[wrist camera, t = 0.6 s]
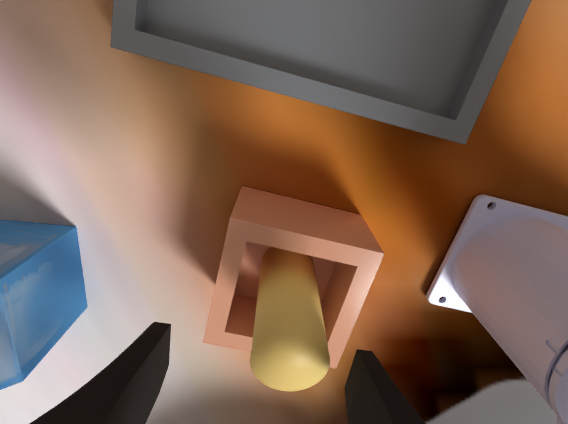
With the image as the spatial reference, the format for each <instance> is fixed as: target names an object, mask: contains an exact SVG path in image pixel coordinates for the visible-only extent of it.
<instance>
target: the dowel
mask: <svg viewBox="0 0 568 424" xmlns="http://www.w3.org/2000/svg"><path fill="white" fill-rule="evenodd" d="M250 364H251V369H252V371H253V373H254V375H255V376H256V378H257V379H258V380H259V381H261V382H262V383H263V384H265V385H266V386H268V387H270V388H273V389H276V390H281V391H298V390H303V389H306V388H309V387H311V386H313V385H315V384H316V383H318V382H319V381H320V380H321V379H322V378H323V377H324V376H325V374H326V373H327V371H328V369H329V365H330V355H329V350H328V344H327V338H326V332H325V327H324V321H323V315H322V309H321V304H320V298H319V292H318V286H317V281H316V275H315V269H314V263H313V259H312V256H310V255H305V254H301V253H296V252H292V251H288V250H283V249H279V248H275V247H270V248H269V249H268V250H267V251H266V252H265V254H264V256H263V258H262V262H261V270H260V279H259V288H258V296H257V305H256V314H255V322H254V331H253V340H252V349H251V357H250Z"/></svg>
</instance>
